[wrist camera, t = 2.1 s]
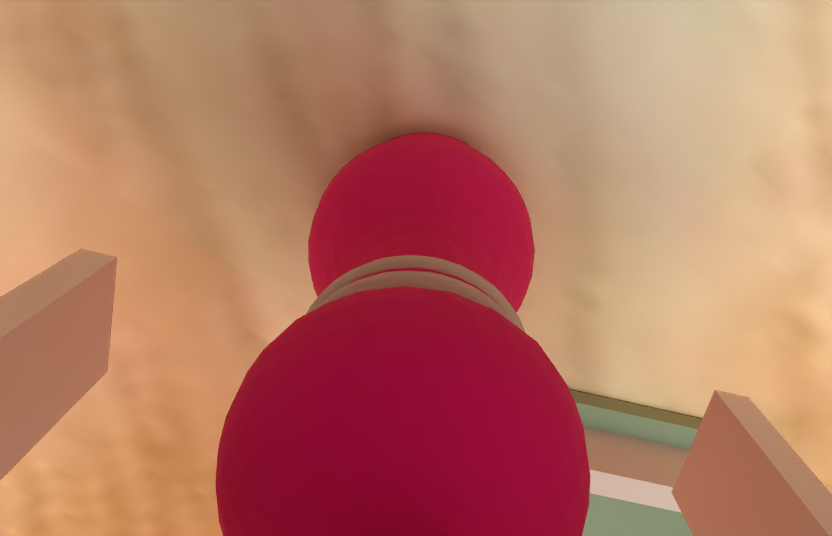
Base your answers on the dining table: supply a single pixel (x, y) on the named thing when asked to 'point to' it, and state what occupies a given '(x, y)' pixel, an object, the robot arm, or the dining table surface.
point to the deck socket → (634, 466)
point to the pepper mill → (408, 369)
